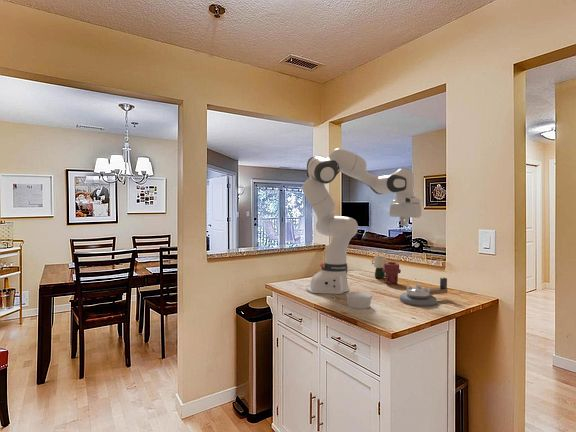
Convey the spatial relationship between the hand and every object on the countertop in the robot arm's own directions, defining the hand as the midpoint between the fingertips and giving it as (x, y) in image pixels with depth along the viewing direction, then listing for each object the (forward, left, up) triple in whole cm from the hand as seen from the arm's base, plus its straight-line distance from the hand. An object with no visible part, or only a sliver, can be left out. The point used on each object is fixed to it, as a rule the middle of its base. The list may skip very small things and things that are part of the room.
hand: (404, 225), depth 179 cm
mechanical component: (0, +15, -34) cm, 37 cm away
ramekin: (-33, -27, -34) cm, 55 cm away
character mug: (-1, +30, -34) cm, 46 cm away
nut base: (-3, -22, -34) cm, 41 cm away
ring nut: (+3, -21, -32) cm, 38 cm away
